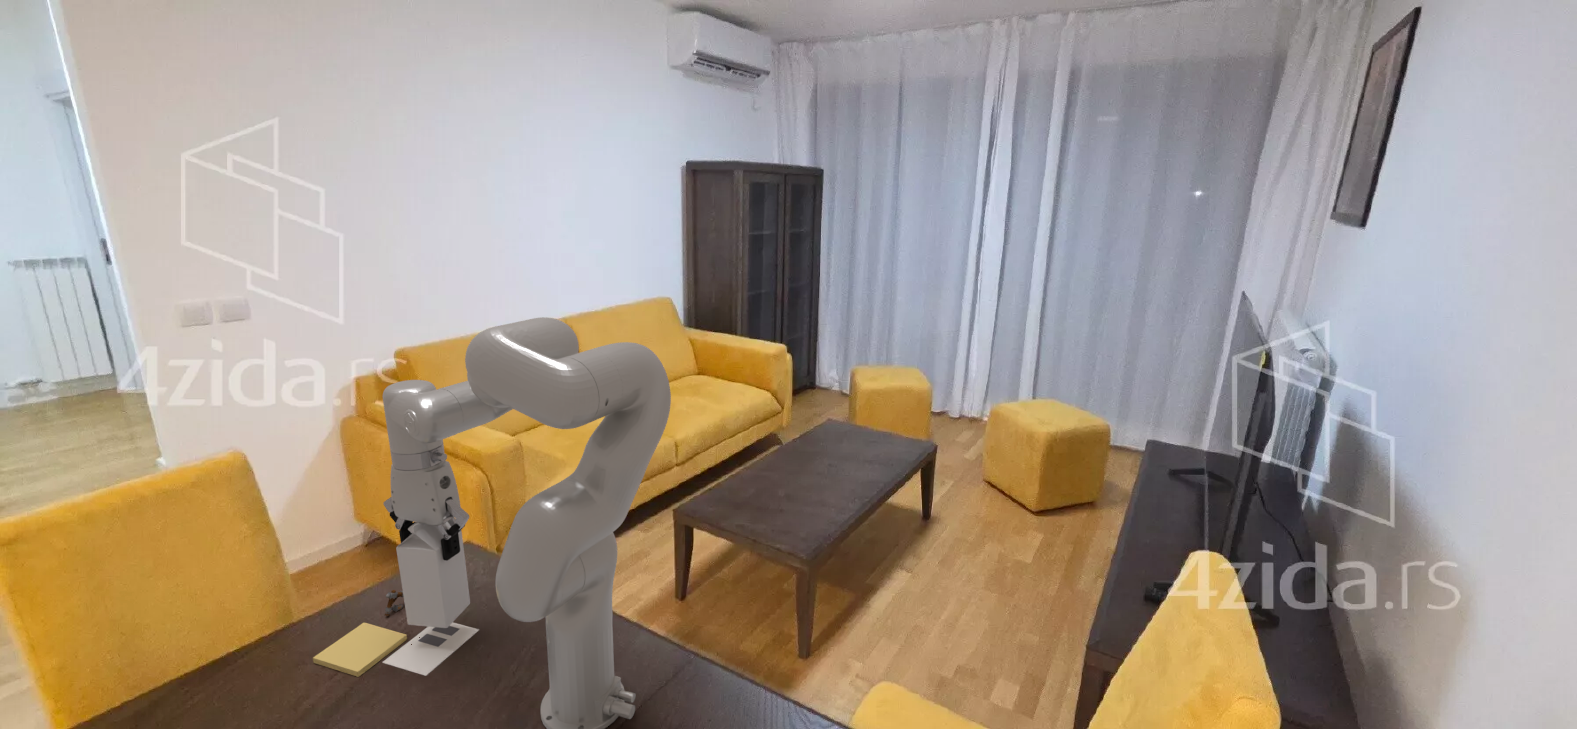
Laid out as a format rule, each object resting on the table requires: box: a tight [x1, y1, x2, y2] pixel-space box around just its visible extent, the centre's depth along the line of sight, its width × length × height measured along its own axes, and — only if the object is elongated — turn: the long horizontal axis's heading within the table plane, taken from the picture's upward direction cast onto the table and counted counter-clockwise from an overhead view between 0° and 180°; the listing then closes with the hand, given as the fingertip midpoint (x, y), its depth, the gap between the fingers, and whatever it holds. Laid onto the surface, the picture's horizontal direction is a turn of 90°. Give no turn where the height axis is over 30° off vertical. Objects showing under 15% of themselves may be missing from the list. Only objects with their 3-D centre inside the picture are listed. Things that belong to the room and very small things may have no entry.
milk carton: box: [396, 516, 471, 628], centre depth 111 cm, size 7×7×19 cm
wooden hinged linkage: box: [384, 589, 404, 617], centre depth 122 cm, size 2×8×4 cm, turn 161°
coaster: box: [312, 622, 408, 678], centre depth 111 cm, size 10×10×1 cm
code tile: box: [382, 621, 480, 677], centre depth 113 cm, size 9×12×1 cm
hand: (431, 551), depth 111 cm, fingers closed on milk carton, 8 cm apart
